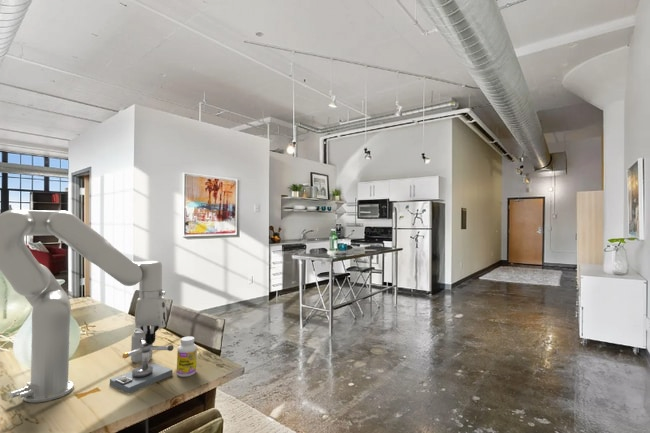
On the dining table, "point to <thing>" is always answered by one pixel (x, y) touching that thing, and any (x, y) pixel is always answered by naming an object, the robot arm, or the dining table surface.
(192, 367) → the supplement bottle
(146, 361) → the capstan
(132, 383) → the stand
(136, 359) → the can
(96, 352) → the dining table surface
